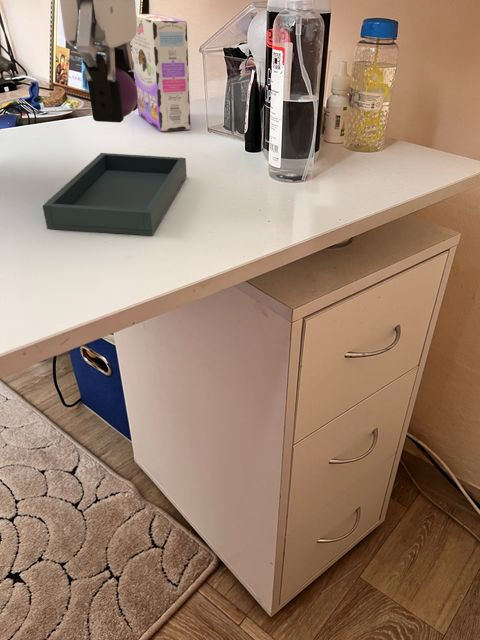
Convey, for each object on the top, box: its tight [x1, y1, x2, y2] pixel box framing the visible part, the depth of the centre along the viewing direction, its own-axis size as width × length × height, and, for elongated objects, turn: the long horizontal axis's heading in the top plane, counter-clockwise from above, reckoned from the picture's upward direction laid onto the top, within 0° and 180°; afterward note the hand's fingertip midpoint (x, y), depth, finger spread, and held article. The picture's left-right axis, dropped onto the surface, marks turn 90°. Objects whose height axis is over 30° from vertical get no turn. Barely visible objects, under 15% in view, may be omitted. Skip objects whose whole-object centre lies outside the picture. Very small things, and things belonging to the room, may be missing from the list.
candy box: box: [130, 13, 192, 132], centre depth 92 cm, size 14×6×16 cm, turn 27°
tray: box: [42, 152, 188, 237], centre depth 65 cm, size 12×20×3 cm, turn 176°
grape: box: [115, 68, 138, 118], centre depth 58 cm, size 5×5×5 cm
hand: (116, 113), depth 59 cm, fingers closed on grape, 4 cm apart
